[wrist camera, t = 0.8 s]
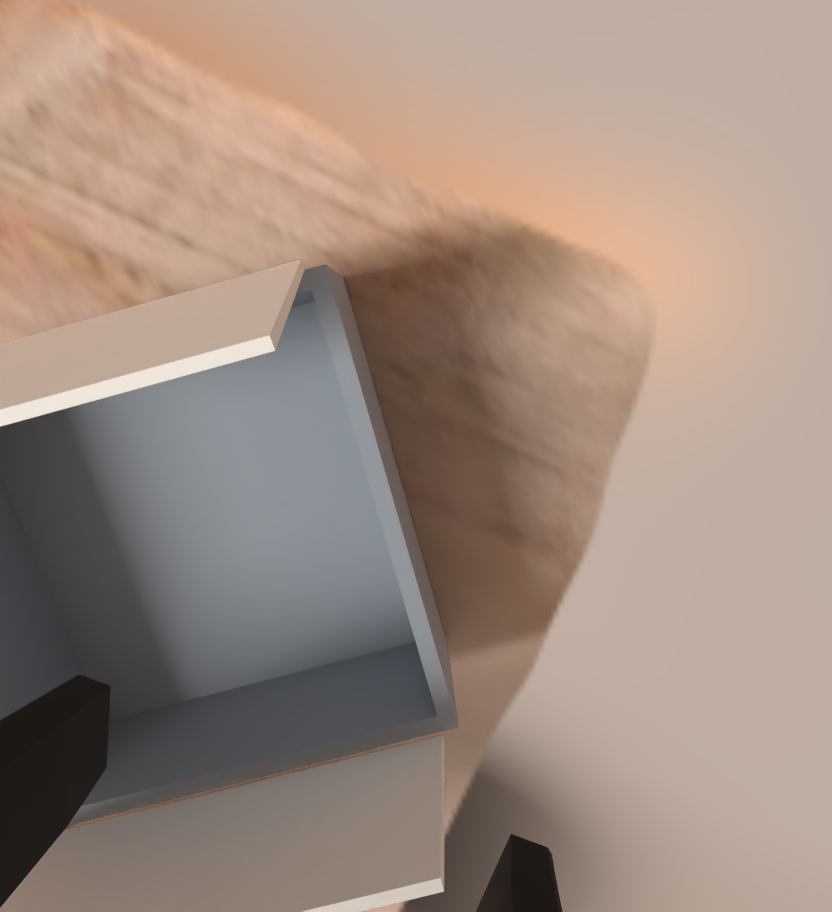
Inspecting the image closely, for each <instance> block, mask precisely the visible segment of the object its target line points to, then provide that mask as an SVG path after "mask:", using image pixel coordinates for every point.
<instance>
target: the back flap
mask: <svg viewBox="0 0 832 912" xmlns="http://www.w3.org/2000/svg"><path fill="white" fill-rule="evenodd" d="M444 749H445V743H444V739H443V736H442V735H439V736H435V737H431V738H427V739H423V740H419V741H415V742H412V743H408V744H404V745H400V746H396V747H392V748H388V749H384V750H380V751H376V752H372V753H368V754H364V755H360V756H356V757H352V758H348V759H344V760H340V761H336V762H332V763H328V764H324V765H320V766H316V767H312V768H308V769H304V770H300V771H296V772H292V773H288V774H284V775H280V776H276V777H272V778H268V779H264V780H260V781H256V782H252V783H248V784H244V785H240V786H236V787H232V788H228V789H224V790H221V791H217V792H213V793H209V794H205V795H201V796H197V797H193V798H189V799H185V800H181V801H177V802H173V803H169V804H165V805H161V806H157V807H153V808H149V809H145V810H141V811H137V812H133V813H129V814H125V815H121V816H117V817H113V818H109V819H105V820H101V821H97V822H93V823H89V824H85V825H81V826H77V827H73V828H69V829H65V830H64V831H63V832H62V833H61V835H60V836H59V837H58V838H57V840H56V841H55V842H54V843H53V844H52V846H51V847H50V848H49V849H48V851H47V852H46V853H45V854H44V855H43V857H42V858H41V859H40V860H39V862H38V863H37V864H36V865H35V866H34V868H33V869H32V870H31V871H30V873H29V874H28V875H27V876H26V877H25V879H24V880H23V881H22V882H21V883H20V885H19V886H18V887H17V888H16V889H15V891H14V892H13V893H12V894H11V895H10V897H9V898H8V899H7V900H6V901H5V903H4V904H3V905H2V906H1V907H0V912H361V911H365V910H370V909H374V908H378V907H382V906H386V905H390V904H394V903H398V902H403V901H407V900H411V899H415V898H419V897H423V896H427V895H431V894H436V893H439V892H444Z"/></svg>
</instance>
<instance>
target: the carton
mask: <svg viewBox="0 0 832 912" xmlns="http://www.w3.org/2000/svg"><path fill="white" fill-rule="evenodd" d="M79 674H80V675H82V676H85V677H88V678H90V679H93V680H96V681H99V682H101V683H104V684H107V685H109V686H111V690H110V710H109V730H108V751H107V768H106V769H105V771H104V772H103V774H102V775H101V777H100V778H99V780H98V781H97V783H96V784H95V786H94V787H93V789H92V791H91V792H90V794H89V795H88V797H87V798H86V800H85V801H84V803H83V804H82V806H81V807H80V808H79V810H78V811H77V813H76V814H75V816H74V817H73V819H72V820H71V822H70V823H69V824H68V825H71V824H75V823H78V822H82V821H86V820H90V819H94V818H98V817H102V816H106V815H110V814H114V813H118V812H122V811H126V810H130V809H134V808H138V807H142V806H146V805H150V804H154V803H158V802H162V801H166V800H170V799H174V798H178V797H182V796H186V795H190V794H194V793H198V792H202V791H206V790H210V789H214V788H218V787H222V786H226V785H230V784H234V783H238V782H241V781H245V780H249V779H253V778H257V777H261V776H265V775H269V774H273V773H277V772H281V771H285V770H289V769H293V768H297V767H301V766H305V765H309V764H313V763H317V762H321V761H325V760H329V759H333V758H337V757H341V756H345V755H349V754H353V753H357V752H361V751H365V750H369V749H373V748H377V747H381V746H385V745H389V744H393V743H397V742H400V741H404V740H408V739H412V738H416V737H420V736H424V735H428V734H432V733H436V732H440V731H444V730H448V729H452V728H456V727H459V726H458V719H457V712H456V705H455V697H454V690H453V683H452V676H451V669H450V661H449V654H448V647H447V640H446V637H445V633H444V630H443V626H442V623H441V619H440V616H439V612H438V609H437V605H436V602H435V598H434V595H433V591H432V587H431V584H430V580H429V577H428V573H427V570H426V566H425V563H424V559H423V556H422V552H421V549H420V545H419V542H418V538H417V534H416V531H415V527H414V524H413V520H412V517H411V513H410V510H409V506H408V503H407V499H406V496H405V492H404V489H403V485H402V482H401V478H400V474H399V471H398V467H397V464H396V460H395V457H394V453H393V450H392V446H391V443H390V439H389V436H388V432H387V429H386V425H385V421H384V418H383V414H382V411H381V407H380V404H379V400H378V397H377V393H376V390H375V386H374V383H373V379H372V376H371V372H370V369H369V365H368V361H367V358H366V354H365V351H364V347H363V344H362V340H361V337H360V333H359V330H358V326H357V323H356V319H355V316H354V312H353V309H352V305H351V301H350V298H349V294H348V291H347V287H346V284H345V280H344V277H342V276H341V275H340V274H338V273H337V272H335V271H334V270H333V269H331V268H330V267H328V266H327V265H322V266H318V267H314V268H311V269H307V270H304V273H303V276H302V279H301V281H300V284H299V287H298V290H297V292H296V295H295V298H294V301H293V303H292V306H291V309H290V312H289V314H288V317H287V320H286V323H285V325H284V328H283V331H282V334H281V336H280V339H279V342H278V345H277V347H276V350H275V351H273V352H269V353H265V354H262V355H258V356H255V357H251V358H247V359H244V360H240V361H236V362H233V363H229V364H226V365H222V366H218V367H215V368H211V369H207V370H204V371H200V372H196V373H193V374H189V375H186V376H182V377H178V378H175V379H171V380H167V381H164V382H160V383H157V384H153V385H149V386H146V387H142V388H138V389H135V390H131V391H128V392H124V393H120V394H117V395H113V396H109V397H106V398H102V399H99V400H95V401H91V402H88V403H84V404H80V405H77V406H73V407H70V408H66V409H62V410H59V411H55V412H51V413H48V414H44V415H41V416H37V417H33V418H30V419H26V420H22V421H19V422H15V423H12V424H8V425H4V426H1V427H0V720H1V719H3V718H4V717H6V716H8V715H10V714H11V713H13V712H15V711H17V710H18V709H20V708H22V707H23V706H25V705H27V704H28V703H30V702H32V701H34V700H35V699H37V698H39V697H40V696H42V695H44V694H46V693H47V692H49V691H51V690H52V689H54V688H56V687H57V686H59V685H61V684H63V683H64V682H66V681H68V680H70V679H71V678H73V677H75V676H77V675H79Z"/></svg>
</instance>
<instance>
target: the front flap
mask: <svg viewBox="0 0 832 912" xmlns="http://www.w3.org/2000/svg"><path fill="white" fill-rule="evenodd" d="M304 270H305V268H304V265H303V262H302V259H300V260H297V261H293V262H290V263H286V264H282V265H279V266H275V267H272V268H268V269H265V270H261V271H257V272H254V273H250V274H247V275H243V276H240V277H236V278H232V279H229V280H225V281H222V282H218V283H215V284H211V285H208V286H204V287H200V288H197V289H193V290H190V291H186V292H183V293H179V294H175V295H172V296H168V297H165V298H161V299H158V300H154V301H150V302H147V303H143V304H140V305H136V306H133V307H129V308H126V309H122V310H118V311H115V312H111V313H108V314H104V315H101V316H97V317H93V318H90V319H86V320H83V321H79V322H76V323H72V324H69V325H65V326H61V327H58V328H54V329H51V330H47V331H44V332H40V333H36V334H33V335H29V336H26V337H22V338H19V339H15V340H11V341H8V342H4V343H1V344H0V427H1V426H4V425H8V424H12V423H15V422H19V421H22V420H26V419H30V418H33V417H37V416H41V415H44V414H48V413H51V412H55V411H59V410H62V409H66V408H70V407H73V406H77V405H80V404H84V403H88V402H91V401H95V400H99V399H102V398H106V397H109V396H113V395H117V394H120V393H124V392H128V391H131V390H135V389H138V388H142V387H146V386H149V385H153V384H157V383H160V382H164V381H167V380H171V379H175V378H178V377H182V376H186V375H189V374H193V373H196V372H200V371H204V370H207V369H211V368H215V367H218V366H222V365H226V364H229V363H233V362H236V361H240V360H244V359H247V358H251V357H255V356H258V355H262V354H265V353H269V352H273V351H275V350H276V347H277V345H278V342H279V339H280V336H281V334H282V331H283V328H284V325H285V323H286V320H287V317H288V314H289V312H290V309H291V306H292V303H293V301H294V298H295V295H296V292H297V290H298V287H299V284H300V281H301V279H302V276H303V273H304Z"/></svg>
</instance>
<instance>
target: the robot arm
mask: <svg viewBox="0 0 832 912" xmlns="http://www.w3.org/2000/svg"><path fill="white" fill-rule="evenodd" d="M110 690H111V686H109V685H107V684H104V683H101V682H99V681H96V680H93V679H90V678H88V677H85V676H82V675H80V674H79V675H77V676H75V677H73V678H71V679H70V680H68V681H66V682H64V683H63V684H61V685H59V686H57V687H56V688H54V689H52V690H51V691H49V692H47V693H46V694H44V695H42V696H40V697H39V698H37V699H35V700H34V701H32V702H30V703H28V704H27V705H25V706H23V707H22V708H20V709H18V710H17V711H15V712H13V713H11V714H10V715H8V716H6V717H4V718H3V719H1V720H0V907H1V906H2V905H3V904H4V903H5V901H6V900H7V899H8V898H9V897H10V895H11V894H12V893H13V892H14V891H15V889H16V888H17V887H18V886H19V885H20V883H21V882H22V881H23V880H24V879H25V877H26V876H27V875H28V874H29V873H30V871H31V870H32V869H33V868H34V866H35V865H36V864H37V863H38V862H39V860H40V859H41V858H42V857H43V855H44V854H45V853H46V852H47V851H48V849H49V848H50V847H51V846H52V844H53V843H54V842H55V841H56V840H57V838H58V837H59V836H60V835H61V833H62V832H63V831H64V830H65V828H66V827H67V826H68V824H69V823H70V822H71V820H72V819H73V817H74V816H75V814H76V813H77V811H78V810H79V808H80V807H81V806H82V804H83V803H84V801H85V800H86V798H87V797H88V795H89V794H90V792H91V791H92V789H93V787H94V786H95V784H96V783H97V781H98V780H99V778H100V777H101V775H102V774H103V772H104V771H105V769H106V768H107V751H108V730H109V710H110ZM476 912H562V908H561V903H560V898H559V893H558V887H557V883H556V877H555V872H554V865H553V859H552V854H551V852H550V851H549V849H548V848H547V847H545V846H542V845H539V844H537V843H534V842H531V841H528V840H526V839H523V838H520V837H518V836H515V835H512V834H511V835H510V837H509V840H508V842H507V844H506V846H505V848H504V851H503V853H502V855H501V857H500V859H499V862H498V864H497V866H496V869H495V870H494V873H493V875H492V877H491V879H490V881H489V884H488V886H487V888H486V890H485V893H484V895H483V897H482V899H481V901H480V904H479V906H478V908H477V911H476Z"/></svg>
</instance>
